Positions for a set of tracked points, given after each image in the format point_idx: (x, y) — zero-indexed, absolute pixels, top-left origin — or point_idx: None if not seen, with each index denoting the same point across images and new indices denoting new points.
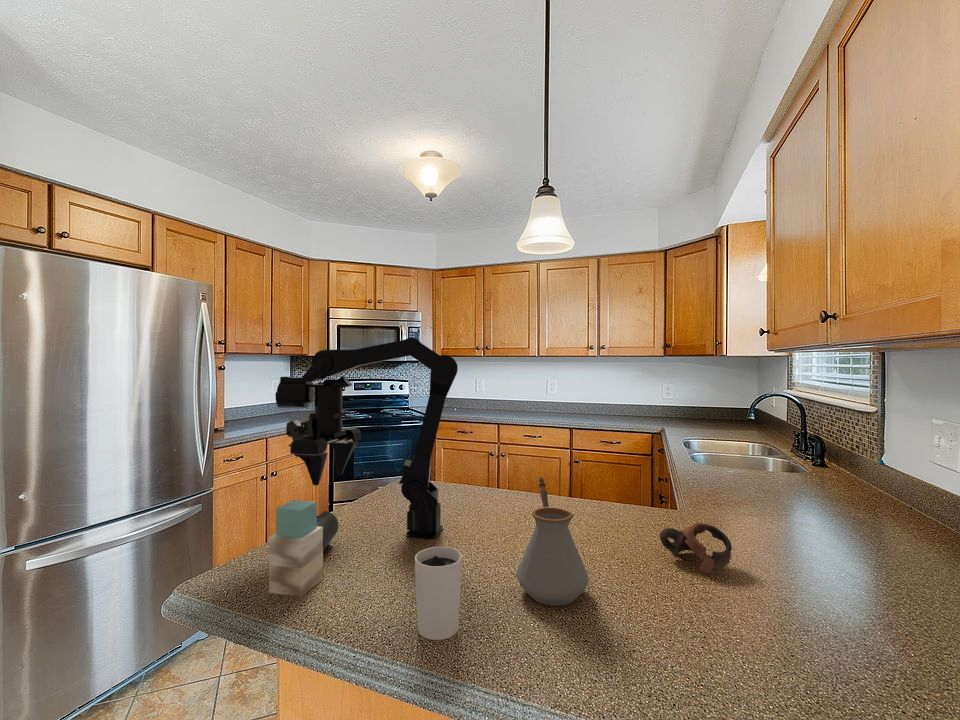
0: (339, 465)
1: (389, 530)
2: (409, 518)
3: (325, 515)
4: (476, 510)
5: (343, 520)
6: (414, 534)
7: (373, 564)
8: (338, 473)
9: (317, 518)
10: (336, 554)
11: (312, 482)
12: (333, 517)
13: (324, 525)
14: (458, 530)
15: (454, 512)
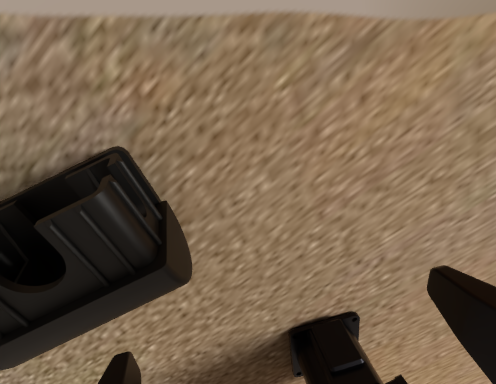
0: (487, 334)
1: (315, 279)
2: (321, 360)
3: (130, 301)
4: None
5: (362, 109)
6: (293, 348)
7: None
8: (433, 281)
9: (73, 314)
10: None
11: (103, 374)
12: (168, 292)
13: (71, 338)
14: None
15: None
